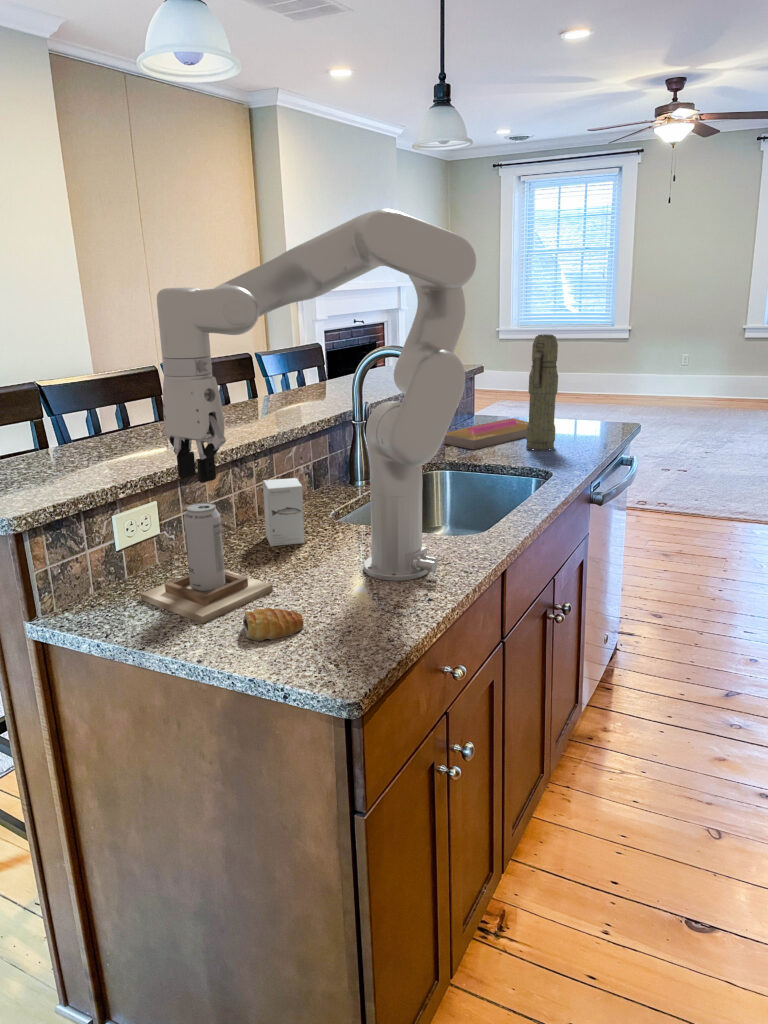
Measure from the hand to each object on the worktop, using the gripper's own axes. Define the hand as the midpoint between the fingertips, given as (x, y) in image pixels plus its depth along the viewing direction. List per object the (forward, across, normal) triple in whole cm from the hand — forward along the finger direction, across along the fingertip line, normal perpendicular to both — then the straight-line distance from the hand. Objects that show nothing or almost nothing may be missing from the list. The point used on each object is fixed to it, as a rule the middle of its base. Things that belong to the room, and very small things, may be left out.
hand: (197, 477), depth 127 cm
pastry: (+22, -19, +4) cm, 29 cm away
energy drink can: (+20, 0, 0) cm, 20 cm away
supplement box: (+22, +9, -29) cm, 37 cm away
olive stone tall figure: (+22, +3, -139) cm, 141 cm away
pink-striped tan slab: (+22, +22, -143) cm, 146 cm away
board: (+21, 0, 0) cm, 21 cm away
